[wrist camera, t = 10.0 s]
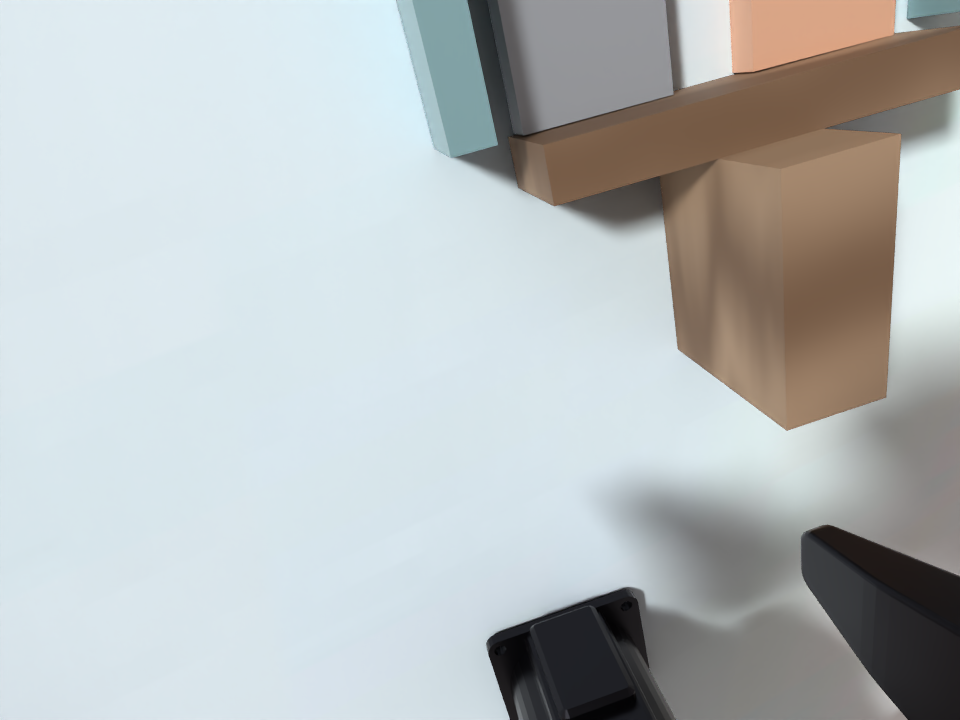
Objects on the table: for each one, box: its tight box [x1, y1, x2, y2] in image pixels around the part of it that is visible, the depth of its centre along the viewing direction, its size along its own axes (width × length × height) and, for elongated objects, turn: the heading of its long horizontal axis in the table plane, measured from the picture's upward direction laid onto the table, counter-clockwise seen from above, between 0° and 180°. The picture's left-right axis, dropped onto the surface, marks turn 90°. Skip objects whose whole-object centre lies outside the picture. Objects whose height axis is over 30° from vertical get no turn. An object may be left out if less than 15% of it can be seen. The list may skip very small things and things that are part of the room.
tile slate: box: [487, 0, 674, 136], centre depth 17 cm, size 4×4×2 cm
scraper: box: [508, 26, 960, 430], centre depth 18 cm, size 8×12×6 cm
